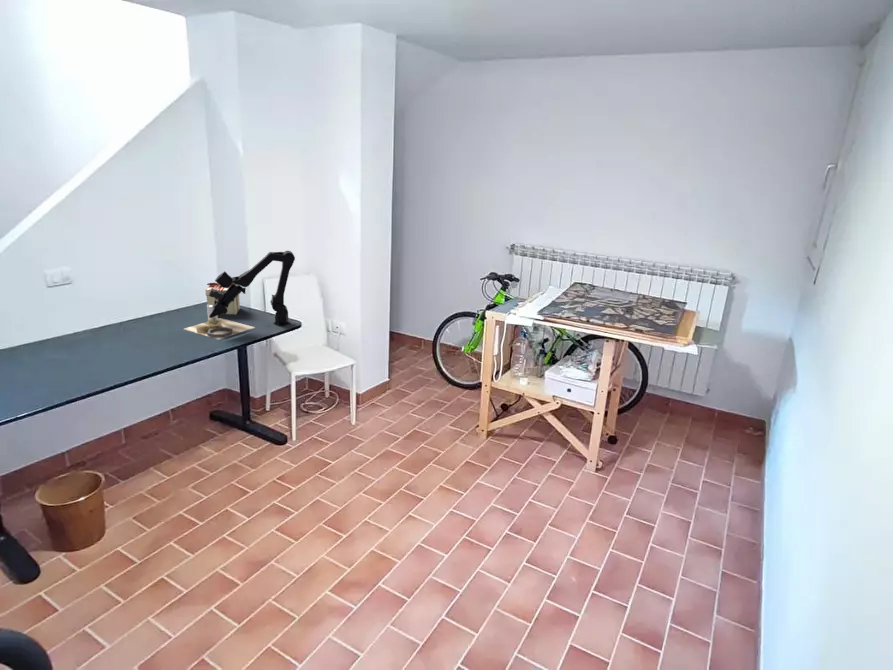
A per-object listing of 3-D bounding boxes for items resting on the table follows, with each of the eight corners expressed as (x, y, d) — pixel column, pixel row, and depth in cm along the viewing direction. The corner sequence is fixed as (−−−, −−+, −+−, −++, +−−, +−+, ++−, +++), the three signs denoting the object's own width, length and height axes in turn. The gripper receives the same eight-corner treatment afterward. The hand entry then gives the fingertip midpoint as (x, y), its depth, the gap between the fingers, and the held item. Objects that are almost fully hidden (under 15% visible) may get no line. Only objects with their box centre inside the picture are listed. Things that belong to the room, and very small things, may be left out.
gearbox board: (220, 319, 300) (220, 313, 299) (255, 329, 288) (254, 322, 287) (183, 330, 281) (182, 324, 279) (218, 341, 269) (218, 334, 268)
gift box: (206, 318, 301) (203, 287, 295) (211, 308, 318) (208, 279, 312) (240, 317, 305) (237, 287, 300) (243, 307, 322) (240, 278, 316)
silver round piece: (214, 322, 292) (212, 302, 288) (224, 325, 288) (223, 305, 285) (202, 326, 285) (200, 305, 282) (212, 329, 282) (210, 308, 278)
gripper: (218, 279, 289) (197, 300, 289) (218, 288, 273) (195, 311, 272) (235, 293, 294) (214, 314, 294) (236, 302, 278) (214, 325, 278)
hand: (209, 315), depth 284 cm, fingers closed on silver round piece, 5 cm apart
